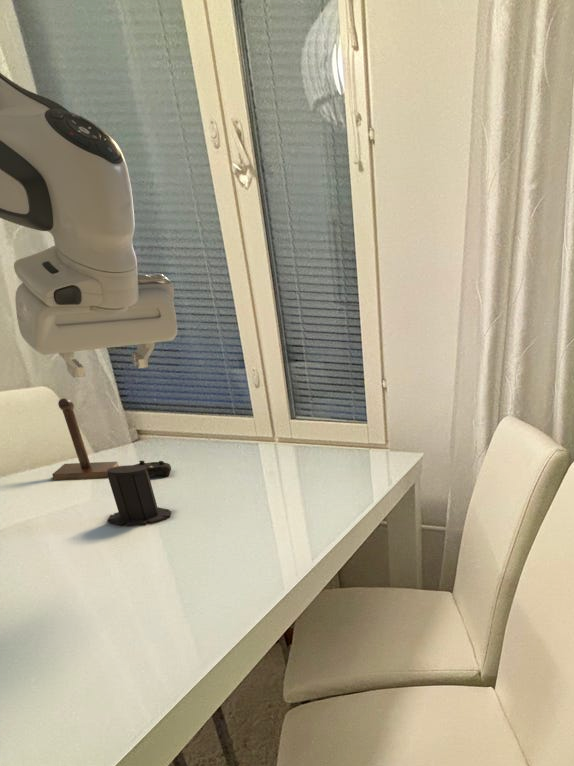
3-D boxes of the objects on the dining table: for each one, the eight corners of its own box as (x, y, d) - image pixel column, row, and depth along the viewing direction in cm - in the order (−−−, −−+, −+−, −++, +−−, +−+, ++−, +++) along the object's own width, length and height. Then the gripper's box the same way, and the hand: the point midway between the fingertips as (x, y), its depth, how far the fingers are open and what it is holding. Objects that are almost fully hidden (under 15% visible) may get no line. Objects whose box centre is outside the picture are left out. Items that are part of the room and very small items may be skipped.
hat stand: (54, 480, 122) (26, 401, 114) (66, 470, 131) (41, 395, 123) (110, 478, 126) (87, 401, 118) (119, 467, 135) (98, 395, 127)
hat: (104, 529, 96) (87, 477, 91) (114, 512, 104) (99, 464, 99) (168, 524, 99) (154, 473, 95) (173, 508, 107) (161, 461, 103)
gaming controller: (168, 466, 133) (169, 451, 128) (177, 485, 132) (177, 471, 128) (123, 471, 127) (122, 456, 123) (132, 491, 127) (131, 476, 122)
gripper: (159, 260, 80) (161, 349, 91) (-3, 262, 67) (22, 366, 77) (186, 286, 80) (186, 372, 90) (29, 293, 66) (49, 394, 76)
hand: (109, 370), depth 83 cm, fingers open, 8 cm apart
